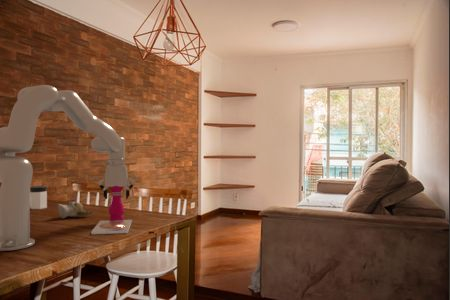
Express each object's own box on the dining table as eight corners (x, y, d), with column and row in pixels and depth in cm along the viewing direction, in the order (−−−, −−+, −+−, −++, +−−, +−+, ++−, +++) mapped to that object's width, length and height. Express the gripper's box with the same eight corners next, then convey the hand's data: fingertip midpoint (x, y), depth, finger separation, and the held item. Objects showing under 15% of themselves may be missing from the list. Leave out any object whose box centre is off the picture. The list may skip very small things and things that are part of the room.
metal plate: (127, 233, 140) (127, 229, 140) (91, 234, 138) (91, 231, 138) (131, 222, 160) (131, 219, 160) (100, 223, 157) (100, 220, 157)
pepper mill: (119, 222, 160) (119, 179, 160) (105, 221, 162) (105, 178, 161) (127, 218, 167) (127, 177, 167) (113, 218, 169) (113, 177, 168)
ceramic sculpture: (55, 199, 170) (86, 198, 180) (54, 216, 170) (85, 214, 180) (60, 202, 162) (93, 201, 171) (59, 220, 162) (92, 218, 171)
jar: (39, 206, 199) (39, 185, 199) (50, 207, 196) (50, 186, 196) (25, 208, 191) (25, 187, 190) (36, 209, 188) (36, 187, 188)
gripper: (96, 163, 159) (96, 200, 159) (134, 163, 162) (134, 199, 162) (99, 162, 166) (99, 197, 166) (136, 162, 169) (135, 197, 170)
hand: (116, 198), depth 164 cm, fingers open, 9 cm apart
